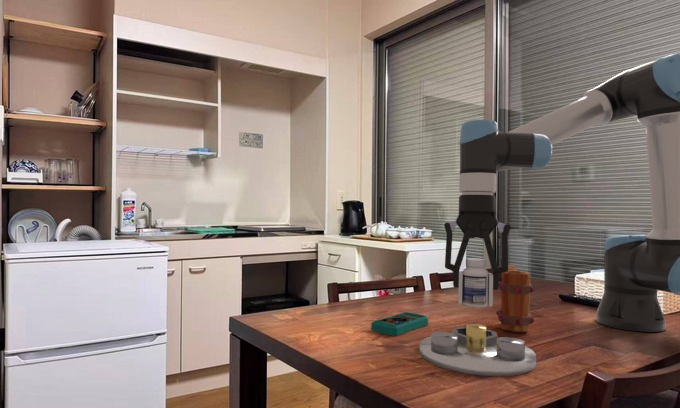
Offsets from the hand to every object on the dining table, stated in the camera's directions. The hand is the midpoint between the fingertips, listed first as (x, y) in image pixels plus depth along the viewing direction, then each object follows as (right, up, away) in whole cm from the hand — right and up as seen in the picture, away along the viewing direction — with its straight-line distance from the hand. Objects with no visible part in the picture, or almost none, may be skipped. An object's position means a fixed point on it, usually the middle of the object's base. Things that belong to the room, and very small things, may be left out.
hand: (474, 303), depth 99 cm
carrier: (-2, -9, -6) cm, 11 cm away
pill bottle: (0, -1, 0) cm, 1 cm away
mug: (+14, -10, +17) cm, 24 cm away
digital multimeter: (-14, -10, +14) cm, 22 cm away
